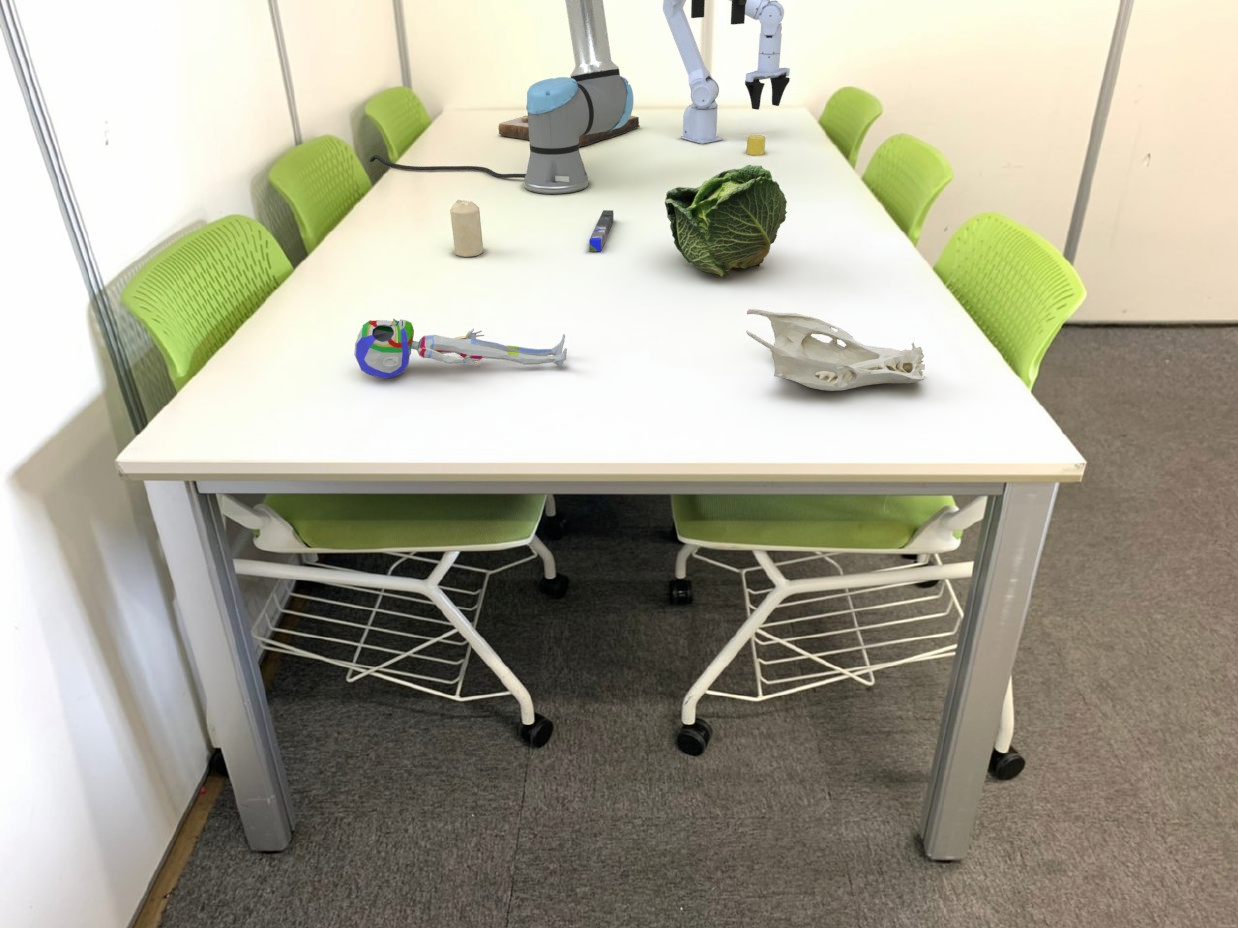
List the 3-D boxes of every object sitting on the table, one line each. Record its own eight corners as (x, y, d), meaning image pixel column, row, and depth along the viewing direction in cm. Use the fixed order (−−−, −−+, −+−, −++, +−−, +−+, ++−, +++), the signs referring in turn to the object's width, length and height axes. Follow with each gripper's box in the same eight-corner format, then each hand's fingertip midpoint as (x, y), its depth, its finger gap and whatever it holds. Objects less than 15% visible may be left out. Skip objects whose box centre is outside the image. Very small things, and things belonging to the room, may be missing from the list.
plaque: (578, 121, 243) (496, 109, 258) (578, 149, 246) (497, 135, 261) (641, 104, 264) (562, 94, 278) (641, 129, 267) (563, 118, 282)
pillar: (613, 210, 190) (600, 241, 173) (613, 220, 191) (600, 251, 174) (603, 210, 190) (589, 240, 173) (603, 220, 191) (589, 251, 174)
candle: (488, 249, 176) (483, 198, 171) (475, 258, 172) (470, 206, 167) (463, 246, 178) (457, 196, 173) (450, 255, 174) (443, 204, 168)
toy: (569, 347, 126) (349, 329, 122) (563, 400, 131) (350, 385, 126) (565, 318, 135) (359, 301, 130) (559, 369, 139) (360, 354, 134)
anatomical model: (747, 299, 130) (925, 301, 126) (745, 356, 135) (916, 360, 131) (744, 342, 118) (940, 346, 114) (742, 403, 123) (930, 410, 119)
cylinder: (754, 156, 237) (755, 139, 235) (742, 152, 240) (743, 136, 238) (768, 153, 239) (769, 137, 237) (756, 150, 243) (757, 134, 240)
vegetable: (694, 294, 173) (643, 202, 166) (775, 239, 175) (728, 145, 167) (734, 307, 155) (678, 205, 147) (824, 245, 156) (773, 141, 149)
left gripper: (780, -108, 158) (771, 25, 169) (700, -106, 176) (697, 14, 188) (746, -108, 155) (739, 28, 166) (668, -106, 173) (667, 16, 185)
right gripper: (760, 57, 231) (756, 113, 238) (799, 52, 238) (795, 106, 245) (741, 54, 236) (738, 109, 243) (780, 49, 243) (776, 102, 250)
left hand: (717, 21), depth 177 cm, fingers open, 13 cm apart
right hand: (765, 107), depth 245 cm, fingers open, 7 cm apart
